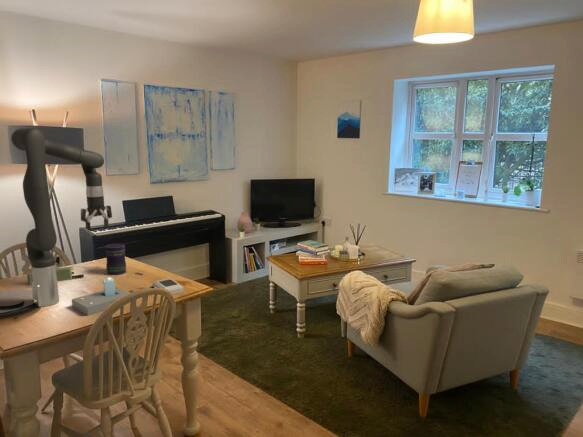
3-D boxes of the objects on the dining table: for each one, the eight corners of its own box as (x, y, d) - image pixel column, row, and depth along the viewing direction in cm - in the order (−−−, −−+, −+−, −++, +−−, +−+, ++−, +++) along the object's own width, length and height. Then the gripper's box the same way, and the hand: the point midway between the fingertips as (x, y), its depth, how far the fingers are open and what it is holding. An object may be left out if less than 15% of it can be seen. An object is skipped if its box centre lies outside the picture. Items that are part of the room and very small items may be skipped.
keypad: (170, 276, 223) (183, 284, 212) (171, 283, 224) (183, 292, 212) (152, 280, 217) (164, 288, 206) (152, 287, 218) (164, 296, 207)
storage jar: (103, 273, 238) (100, 245, 235) (119, 268, 246) (117, 242, 243) (114, 276, 232) (112, 248, 230) (130, 271, 240) (128, 245, 238)
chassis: (87, 315, 184) (87, 306, 183) (72, 306, 192) (71, 298, 192) (132, 301, 199) (131, 293, 198) (116, 294, 208) (115, 286, 207)
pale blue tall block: (106, 303, 197) (104, 280, 194) (104, 300, 200) (103, 277, 198) (115, 301, 199) (114, 278, 196) (114, 298, 202) (112, 276, 200)
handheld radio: (28, 283, 221) (83, 276, 232) (28, 286, 219) (84, 279, 230) (27, 271, 220) (82, 264, 231) (26, 273, 217) (83, 266, 228)
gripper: (83, 197, 205) (86, 231, 209) (113, 194, 216) (115, 227, 219) (76, 195, 210) (79, 229, 213) (105, 192, 221) (107, 225, 224)
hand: (97, 228), depth 216 cm, fingers open, 8 cm apart
